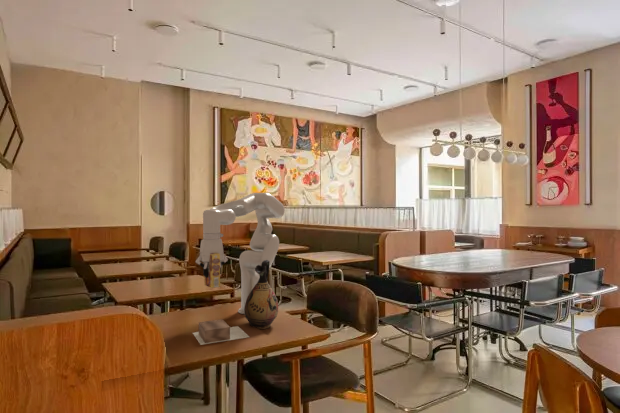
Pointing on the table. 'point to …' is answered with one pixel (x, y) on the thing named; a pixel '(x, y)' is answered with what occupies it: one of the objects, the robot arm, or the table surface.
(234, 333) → the baseplate
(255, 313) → the ceramic jug
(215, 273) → the candy box
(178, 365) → the table surface
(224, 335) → the walnut block
